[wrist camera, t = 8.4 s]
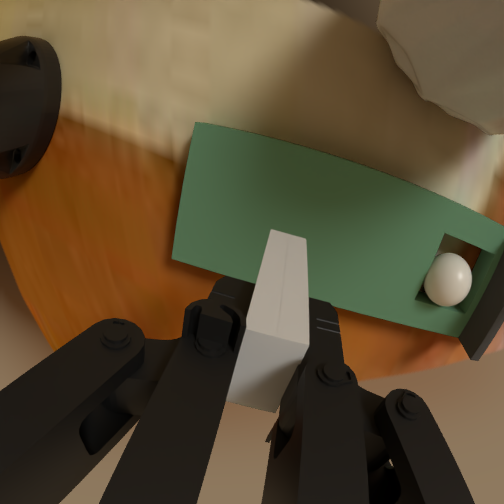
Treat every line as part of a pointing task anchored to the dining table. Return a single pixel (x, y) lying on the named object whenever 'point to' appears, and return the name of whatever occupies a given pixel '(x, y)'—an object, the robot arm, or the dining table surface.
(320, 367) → the robot arm
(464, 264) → the ball
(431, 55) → the vase
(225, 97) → the dining table surface
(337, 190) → the green
